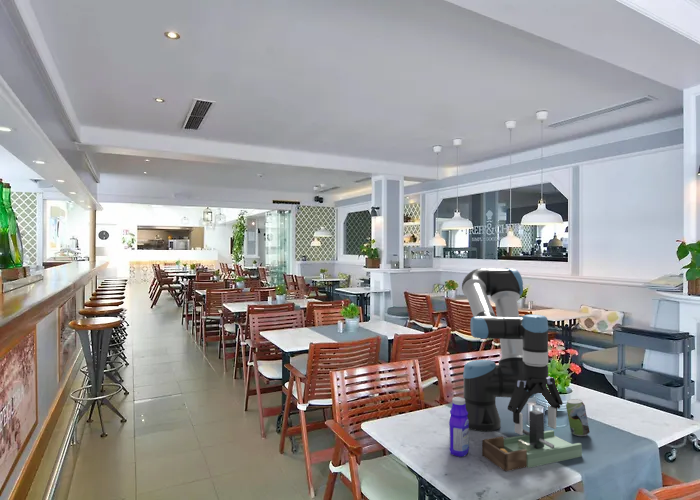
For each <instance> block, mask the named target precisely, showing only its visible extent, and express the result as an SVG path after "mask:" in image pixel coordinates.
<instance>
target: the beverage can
mask: <svg viewBox="0 0 700 500" xmlns="http://www.w3.org/2000/svg"><path fill="white" fill-rule="evenodd" d="M565 408H566V412H567V413H566V414H567V420H568V425H569V430H570V433H571V434H573V435H575V436H576V437H577V436H578V437H586V436H587V435H588V434H590V426H589V420H588V417H587V416H588V415H587V411H586V406H585V403H584V402H583V400H581V399H578V398H575V399H574V398H573V399H571V398H570V399H569V400H567V401H566V404H565Z"/></svg>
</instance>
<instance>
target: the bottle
mask: <svg viewBox="0 0 700 500" xmlns="http://www.w3.org/2000/svg"><path fill="white" fill-rule="evenodd" d="M451 404H452V406H451V409H450V410H449V413H450V417H449V423H448V424H449V426H448V427H449V448H448V449H449V453H450V454H451V455H452V456H455V457H459V458H460V457H461V458H462V457H466V455H467V454H468V453H469V451H470V437H469V435H470V432H469V431H470V429H469V420H468V417H467V415H468V412H467V410H466V406H465V399H464V397H461V396H460V397H459V396H455V397H453V398H452V403H451Z"/></svg>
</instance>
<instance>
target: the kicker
mask: <svg viewBox="0 0 700 500" xmlns="http://www.w3.org/2000/svg"><path fill="white" fill-rule="evenodd" d="M528 420H529V422H528V423H529V431H527V430H526V429H524V428H523V435H527V436H529V437H530V443H526V442H524V441H523V440H518V446H519V447H520V448H522V449H525V450H527V451H530V448H536V449H538V448H543V447H544V444H545V445H546V446H548V447H550V448H552V449H553V448H554V445H553V444H551V443H549V442H547V441H545V440H544V431H545V413H544V412H542V411H540V410H538V409H535V410H534V409H533V410H529V419H528Z"/></svg>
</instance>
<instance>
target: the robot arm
mask: <svg viewBox="0 0 700 500" xmlns="http://www.w3.org/2000/svg"><path fill="white" fill-rule="evenodd" d="M523 285H524V283H523V278H522V275H521V273H520V272H519V271H518V270H517V269H516V268H509V267H504V268H497V267H496V268H493V267H492V268H489V267H488V268H487V267H486V268H484V267H480V268H476V269H473V270H472V271H470V272H469V273H468V274H467V275H465V277H464V278H463V280H462V283H461V291H462V294H463V295H464V297H465V298H467V301H468V304H469V306H470V311H471V313H472V317H471V318H470V322H469V323H470V325H469V326H470V327H469V328H470V335H471V337H473V338H474V339H483V340H486V339H488V340H489V339H490V340H491V339H492V340H493V339H497V340H499V343H500V344H499V345H500V351H501V358H500V359H499V360H498V364H496V362H495V361H494V360H492V359H477V360H470V361H469V362H467V363H466V364H464V367H463V375H462V378H463V398H464V399H465V406H466V410H467V412H468V415H467V417H468V420H469V430H474V431H477V432H478V431H480V432H492V431H497V430H498V429H500V428H501V417H500V414H499V411H498V408H497V405H496V404H497V403H496V398H510V400H509V403H508V406H507V410H508V411H510V412H512V421H513V423H514V433H516V434H518V435H519V436H521V435H524V433H523V429H524V428H523V427H524V424H523V423H524V422H523V421H524V419H523V416H524V415H523V413H522V411H523V410H524V408H525V406H526V405H527V403H528V400H530V399H532V398H534V397H535V396H536V395H538V393H542V395H543V396H544V397H545V399H546V400H547V401H548V403H549V404H550V405H551V406H548V407H547V426H548V427H549V428H551V429H552V430H556V429H557V417H558V409H559V410H560V409H561V406H563V405H564V402H563V400H562V398H561V396H560V391H559V392H558V390H557V388H556V385H555V379H554V378H553V377H550V376H548V374H549V366H548V364H549V323H548V322H549V321H548V318H547V316H546V315H543V314H542V315H541V314H525V315H519V314H520V312H519V305H518V301H519V300H520V298H521V296H522V295H523V293H524V286H523ZM488 296H489V297H490V299H489V297H488ZM490 300H491V302H493V303H494V304H495V311H494V309H493V307H492V305H491V302H490ZM495 313H496V314H495ZM546 384H547V386H548V388H549V390H548V389H547V387H546ZM549 391H550V393H551V394H550V393H549Z"/></svg>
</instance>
